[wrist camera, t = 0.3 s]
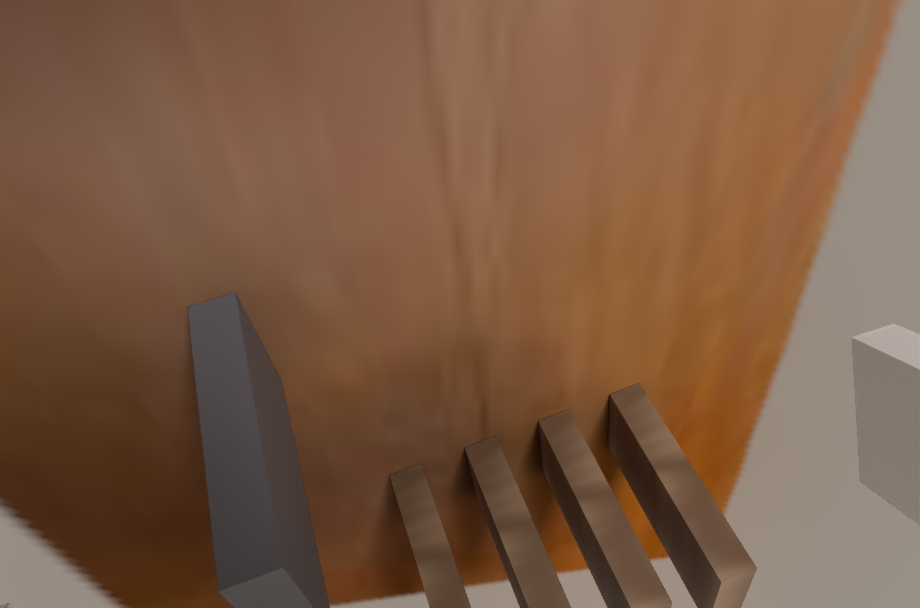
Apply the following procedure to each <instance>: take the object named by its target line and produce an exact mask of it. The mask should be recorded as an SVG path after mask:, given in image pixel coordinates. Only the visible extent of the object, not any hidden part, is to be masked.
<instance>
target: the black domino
mask: <svg viewBox="0 0 920 608" xmlns="http://www.w3.org/2000/svg"><path fill="white" fill-rule="evenodd" d="M187 308H188V317H189V326H190V335H191V345H192V354H193V363H194V372H195V381H196V391H197V400H198V409H199V418H200V428H201V437H202V446H203V455H204V464H205V474H206V483H207V492H208V501H209V510H210V520H211V529H212V538H213V547H214V557H215V566H216V575H217V584H218V592H219V593H220V594H221V595H222V596H223V597H224V598H225V599H226V600H227V601H228V602H229V603H230V604H231V605H232V606H233V607H234V608H330V607H329V602H328V598H327V593H326V588H325V584H324V579H323V574H322V569H321V565H320V560H319V555H318V550H317V546H316V541H315V536H314V532H313V527H312V522H311V517H310V513H309V508H308V503H307V498H306V494H305V489H304V484H303V479H302V475H301V470H300V465H299V461H298V456H297V451H296V446H295V442H294V437H293V432H292V427H291V423H290V418H289V413H288V408H287V404H286V399H285V394H284V390H283V385H282V380H281V378H280V377H279V375H278V373H277V371H276V369H275V367H274V365H273V363H272V361H271V359H270V357H269V356H268V354H267V352H266V350H265V348H264V346H263V344H262V342H261V340H260V338H259V337H258V335H257V333H256V331H255V329H254V327H253V325H252V323H251V321H250V319H249V317H248V316H247V314H246V312H245V310H244V308H243V306H242V304H241V302H240V300H239V298H238V297H237V295H236V293H235V292H233V293H230V294H227V295H224V296H221V297H218V298H215V299H212V300H209V301H206V302H202V303H199V304H196V305H193V306H190V307H187Z"/></svg>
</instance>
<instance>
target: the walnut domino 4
mask: <svg viewBox="0 0 920 608" xmlns="http://www.w3.org/2000/svg"><path fill="white" fill-rule="evenodd" d="M608 447H609V449H610V451H611V453H612V455H613V456H614V458H615V460H616V462H617V464H618V465H619V467H620V469H621V471H622V473H623V474H624V476H625V478H626V480H627V482H628V483H629V485H630V487H631V489H632V491H633V492H634V494H635V496H636V498H637V500H638V501H639V503H640V505H641V507H642V509H643V510H644V512H645V514H646V516H647V518H648V519H649V521H650V523H651V525H652V527H653V528H654V530H655V532H656V534H657V536H658V537H659V539H660V541H661V543H662V545H663V546H664V548H665V550H666V552H667V554H668V555H669V557H670V559H671V561H672V563H673V564H674V566H675V568H676V570H677V571H678V573H679V575H680V577H681V579H682V580H683V582H684V584H685V586H686V588H687V589H688V591H689V593H690V595H691V597H692V598H693V600H694V602H695V604H696V606H697V607H698V608H741V606H742V604H743V601H744V599H745V596H746V594H747V591H748V589H749V586H750V584H751V581H752V579H753V577H754V574H755V572H756V569H757V567H756V566H755V564H754V563H753V561H752V560H751V558H750V557H749V555H748V553H747V552H746V550H745V549H744V547H743V545H742V544H741V542H740V541H739V539H738V538H737V536H736V534H735V533H734V531H733V530H732V528H731V527H730V525H729V523H728V522H727V520H726V519H725V517H724V516H723V514H722V512H721V511H720V509H719V508H718V506H717V505H716V503H715V501H714V500H713V498H712V497H711V495H710V493H709V492H708V490H707V489H706V487H705V486H704V484H703V482H702V481H701V479H700V478H699V476H698V475H697V473H696V471H695V470H694V468H693V467H692V465H691V464H690V462H689V460H688V459H687V457H686V456H685V454H684V453H683V451H682V449H681V448H680V446H679V445H678V443H677V442H676V440H675V438H674V437H673V435H672V434H671V432H670V431H669V429H668V427H667V426H666V424H665V423H664V421H663V420H662V418H661V416H660V415H659V413H658V412H657V410H656V409H655V407H654V405H653V404H652V402H651V401H650V399H649V398H648V396H647V394H646V393H645V391H644V390H643V388H642V387H641V385H640V383H639V384H636V385H634V386H631V387H628V388H625V389H623V390H620V391H617V392H615V393H612V394H610V406H609V440H608Z"/></svg>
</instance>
